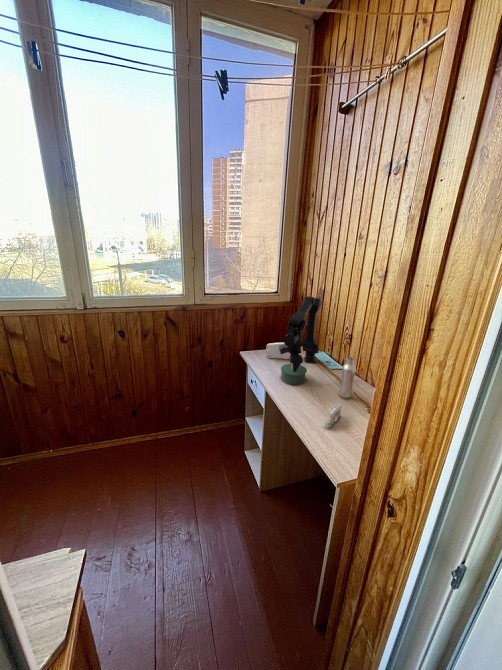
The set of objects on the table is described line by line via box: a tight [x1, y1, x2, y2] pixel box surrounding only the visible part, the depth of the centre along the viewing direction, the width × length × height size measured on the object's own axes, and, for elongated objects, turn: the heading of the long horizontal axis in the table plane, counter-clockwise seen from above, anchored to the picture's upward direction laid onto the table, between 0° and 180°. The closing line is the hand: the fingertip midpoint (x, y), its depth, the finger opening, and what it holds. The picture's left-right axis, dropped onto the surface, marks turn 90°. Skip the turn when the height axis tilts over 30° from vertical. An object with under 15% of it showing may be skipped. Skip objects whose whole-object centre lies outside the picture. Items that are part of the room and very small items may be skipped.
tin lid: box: [280, 363, 308, 376], centre depth 155 cm, size 14×14×6 cm
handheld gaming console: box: [265, 342, 291, 360], centre depth 180 cm, size 11×3×15 cm
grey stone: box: [325, 404, 342, 430], centre depth 122 cm, size 12×2×6 cm, turn 140°
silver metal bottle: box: [338, 356, 357, 399], centre depth 139 cm, size 6×7×20 cm
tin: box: [280, 371, 307, 386], centre depth 156 cm, size 13×13×5 cm
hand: (293, 367), depth 155 cm, fingers open, 9 cm apart
